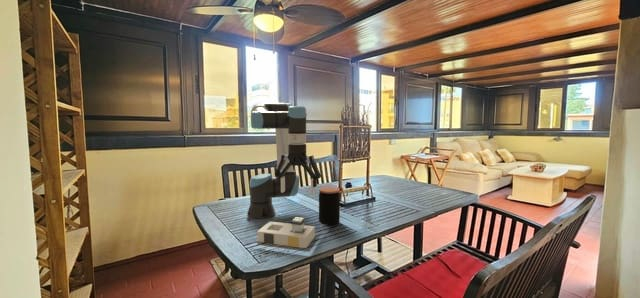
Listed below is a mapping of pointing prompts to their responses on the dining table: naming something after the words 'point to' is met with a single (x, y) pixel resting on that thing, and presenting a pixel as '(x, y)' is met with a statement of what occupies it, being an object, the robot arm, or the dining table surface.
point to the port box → (285, 235)
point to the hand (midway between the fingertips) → (297, 193)
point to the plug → (298, 225)
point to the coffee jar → (329, 205)
